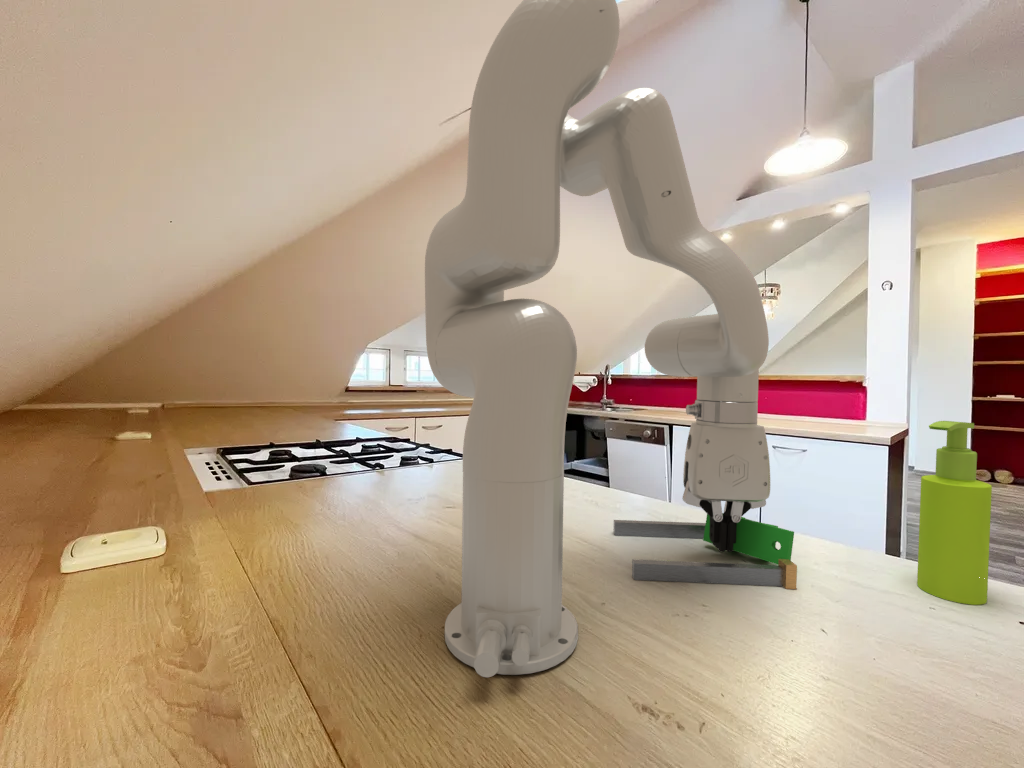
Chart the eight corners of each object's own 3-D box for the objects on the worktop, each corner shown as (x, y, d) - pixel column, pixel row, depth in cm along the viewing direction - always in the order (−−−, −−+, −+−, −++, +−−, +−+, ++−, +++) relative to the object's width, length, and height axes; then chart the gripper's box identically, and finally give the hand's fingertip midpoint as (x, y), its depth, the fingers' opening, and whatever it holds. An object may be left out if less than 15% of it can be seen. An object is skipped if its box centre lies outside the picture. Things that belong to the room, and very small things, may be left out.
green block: (798, 567, 60) (802, 532, 60) (786, 568, 58) (791, 531, 58) (715, 541, 69) (720, 510, 69) (702, 540, 66) (707, 508, 67)
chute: (796, 589, 54) (797, 565, 53) (634, 582, 55) (635, 558, 55) (734, 535, 71) (734, 517, 71) (612, 531, 72) (613, 513, 72)
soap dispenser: (901, 587, 54) (907, 419, 54) (933, 577, 57) (939, 418, 57) (965, 611, 49) (973, 425, 49) (997, 599, 52) (1005, 423, 51)
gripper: (678, 415, 59) (674, 556, 59) (798, 418, 58) (794, 561, 58) (662, 410, 66) (659, 536, 67) (769, 413, 65) (765, 540, 66)
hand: (722, 547), depth 63 cm, fingers closed
